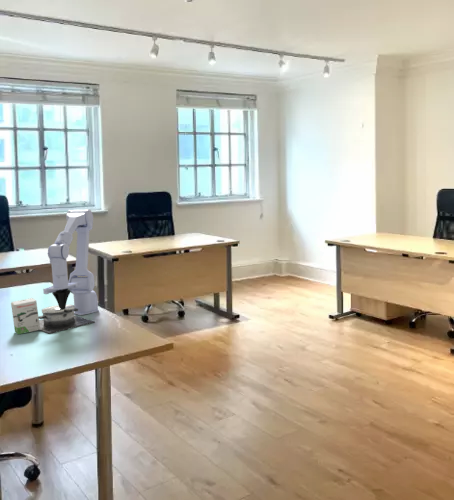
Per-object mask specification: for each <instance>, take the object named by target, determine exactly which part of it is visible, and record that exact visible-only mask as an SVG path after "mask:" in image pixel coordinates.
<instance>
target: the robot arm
mask: <svg viewBox="0 0 454 500" xmlns="http://www.w3.org/2000/svg"><path fill="white" fill-rule="evenodd" d="M65 217H66V218H65V219H66V224H65V227H64V229H63V230H62V231H60V232H59V233H58V235H57V237H56V239H55V240H54V243H53V244H51V245H49V246H48V248H47V257H48V259H49V263H50V264H51V277H52V285H51V286H48V287H45V288H43V289H42V290H43V294H44V295H49V294H52V296H53V297H54V298H55V300H56V301H57V305H59V308H60V309H65V307H66V305H67V301H68V298H69V296H70V294H71V293H72V294H73V305H74V307H75V308H77V309H78V311H75V312H74V315H76V316H84V315H87V314H93V313H97V312H100V310H99V304H98V301H99V300H98V295H97V292H96V291H95V290H94V288H95V284H96V283H95V276H94V275H95V274H94V273H93V272H91V271H90V270H89V269H88V268H89V267H88V266H89V245H90V244H89V243H90V231H92V230H93V227H94V226H93V225H94V214H93V212H92V210H91V209H68V210H67V212H66V215H65ZM75 231H76V233H77V235H76V254H75V256H76V259H75V269H74V270H73V271H72V272H70V274H69V275H68V263H67V259H68V257H69V252H70V246H71V243H72V242H73V240H74V236H73V234H74V233H75ZM68 277H69V279H68Z"/></svg>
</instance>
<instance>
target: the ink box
mask: <svg viewBox="0 0 454 500" xmlns="http://www.w3.org/2000/svg"><path fill="white" fill-rule="evenodd" d="M10 305H11V313H12V320H13V326H14V327H13V328H14V333H15V334H17V335H22V334H26V333H32V332H36V331H39V330H40V325H39V320H40V319H39V311H38V304H37V300H36V299H35V298H32V297H31V298H28V299H27V298H25V299H21V300H15V301H11V303H10Z"/></svg>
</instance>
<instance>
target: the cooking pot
mask: <svg viewBox="0 0 454 500" xmlns="http://www.w3.org/2000/svg"><path fill="white" fill-rule="evenodd" d="M75 311H78V309H77V308H75V309H74V310H72V312H69V313H65V312H63V313H56V314H43V313H42V315H40V316H39V315H38V317H39V325H40V330H38V331H40V332H42V333H46V334H49V335H50V334H56V333H57V332H58V333H59V332H62V331H67V330H70V329H75V328H79V327H82V326H86V325H90V324H94V323H95V320H91V319H88V318H84V317H81V316H79V315H76V314H74V312H75Z"/></svg>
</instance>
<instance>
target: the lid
mask: <svg viewBox="0 0 454 500" xmlns="http://www.w3.org/2000/svg"><path fill="white" fill-rule="evenodd" d="M74 309H75V307H74V304H66V307H65V309H60V308H59V305H58V304H57V305H53V306H48V307H43V308H42V309H41V314H42V315H43V314H56V313H63V312H65V313H69V312H72V310H74Z"/></svg>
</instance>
